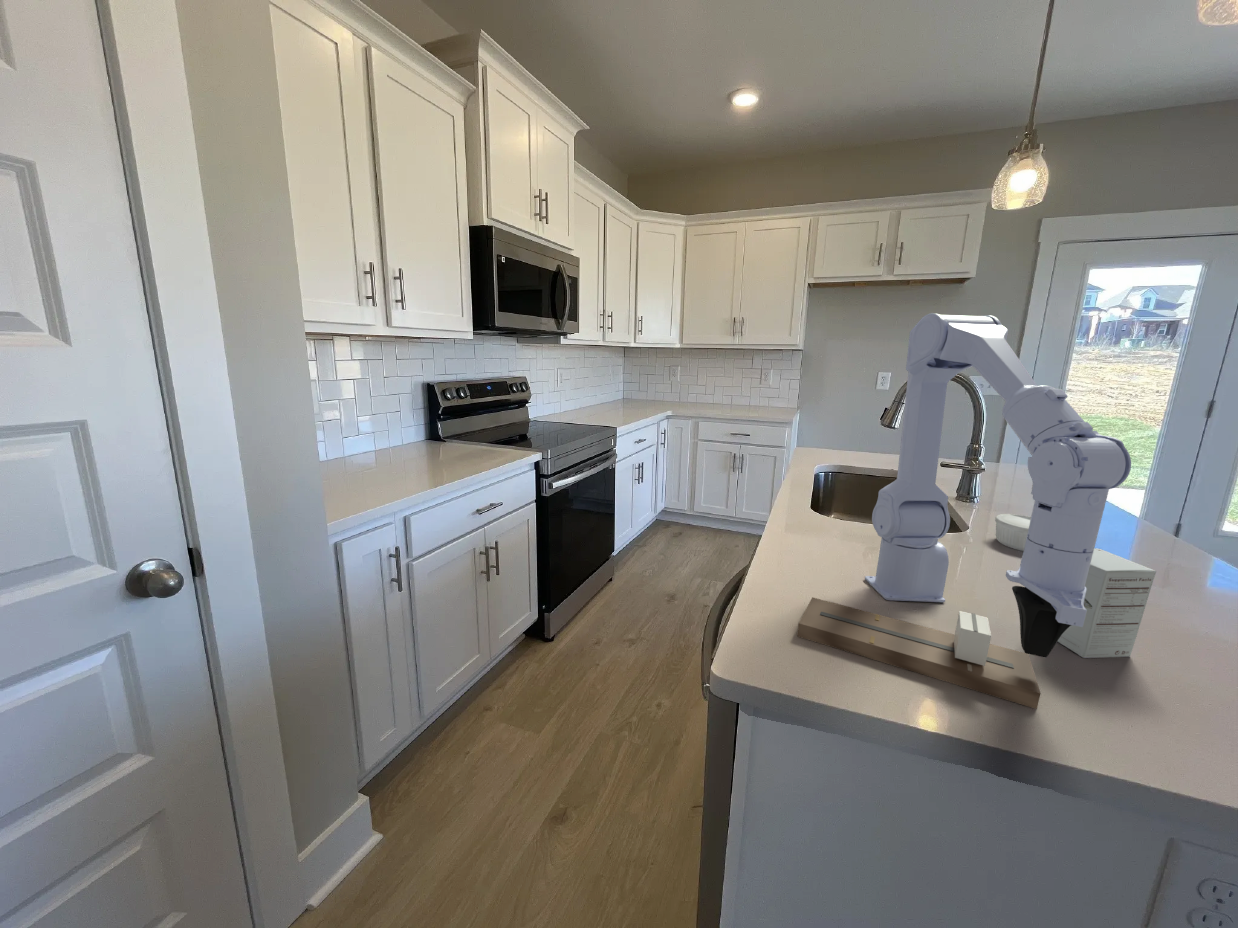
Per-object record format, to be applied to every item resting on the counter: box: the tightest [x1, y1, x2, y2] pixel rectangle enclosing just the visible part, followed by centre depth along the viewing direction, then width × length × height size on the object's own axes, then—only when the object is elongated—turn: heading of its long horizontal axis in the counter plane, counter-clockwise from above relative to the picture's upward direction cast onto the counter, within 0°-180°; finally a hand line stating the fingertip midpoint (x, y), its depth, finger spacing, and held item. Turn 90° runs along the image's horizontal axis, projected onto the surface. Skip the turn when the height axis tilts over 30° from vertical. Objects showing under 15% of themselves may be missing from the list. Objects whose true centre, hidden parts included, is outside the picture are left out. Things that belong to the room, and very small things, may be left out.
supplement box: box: [1057, 547, 1157, 659], centre depth 69 cm, size 7×7×13 cm
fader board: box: [796, 597, 1042, 710], centre depth 67 cm, size 26×9×2 cm, turn 58°
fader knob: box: [954, 610, 992, 666], centre depth 63 cm, size 3×5×4 cm, turn 148°
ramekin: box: [994, 513, 1031, 552], centre depth 106 cm, size 11×11×5 cm
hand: (1033, 652), depth 59 cm, fingers closed
